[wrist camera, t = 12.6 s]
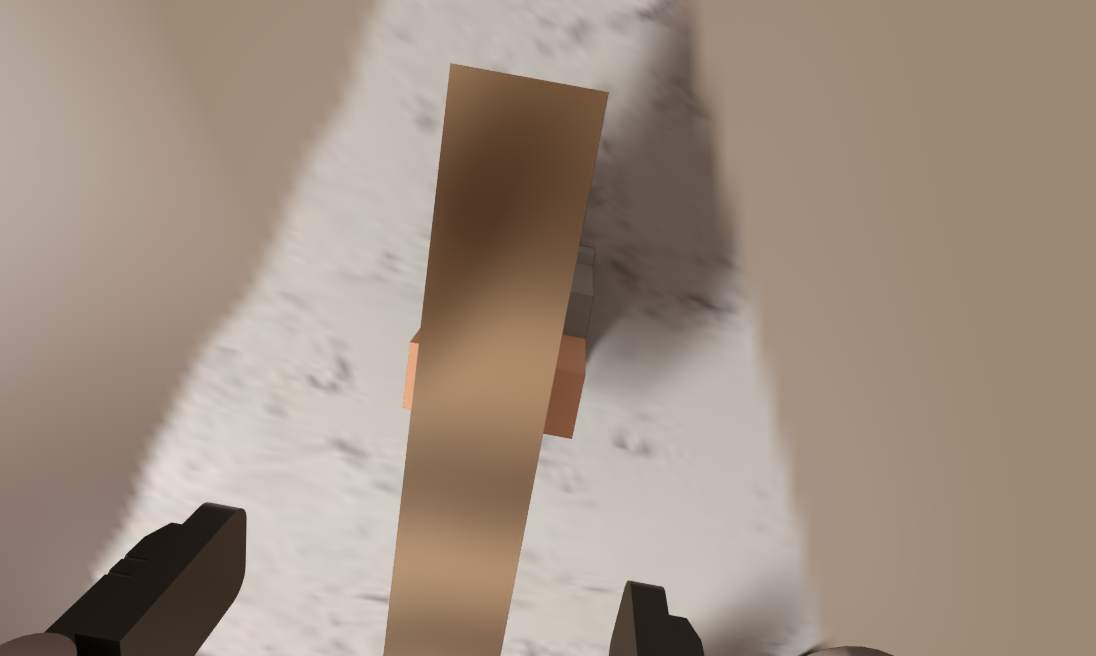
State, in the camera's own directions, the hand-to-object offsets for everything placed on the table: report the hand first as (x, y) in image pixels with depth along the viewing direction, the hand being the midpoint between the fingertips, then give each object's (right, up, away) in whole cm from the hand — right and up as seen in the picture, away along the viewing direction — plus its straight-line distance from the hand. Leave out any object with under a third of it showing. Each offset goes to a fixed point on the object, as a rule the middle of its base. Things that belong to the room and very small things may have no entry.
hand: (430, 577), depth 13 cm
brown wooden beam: (+1, +3, +9) cm, 9 cm away
